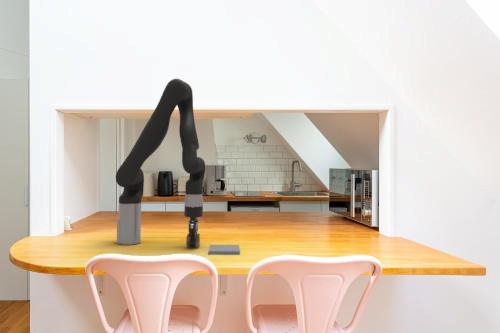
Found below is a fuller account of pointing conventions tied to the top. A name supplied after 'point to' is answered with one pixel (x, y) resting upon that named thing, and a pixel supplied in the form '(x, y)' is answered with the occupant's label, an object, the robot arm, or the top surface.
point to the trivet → (224, 249)
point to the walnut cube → (197, 241)
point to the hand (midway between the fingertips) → (193, 245)
